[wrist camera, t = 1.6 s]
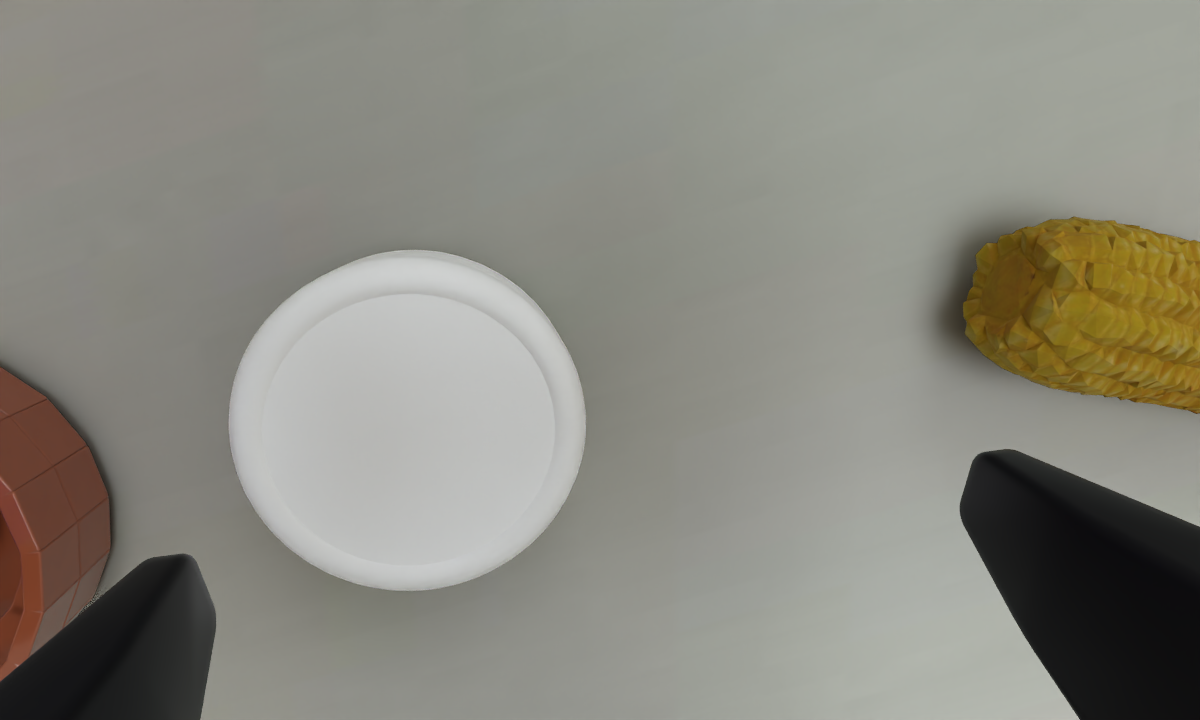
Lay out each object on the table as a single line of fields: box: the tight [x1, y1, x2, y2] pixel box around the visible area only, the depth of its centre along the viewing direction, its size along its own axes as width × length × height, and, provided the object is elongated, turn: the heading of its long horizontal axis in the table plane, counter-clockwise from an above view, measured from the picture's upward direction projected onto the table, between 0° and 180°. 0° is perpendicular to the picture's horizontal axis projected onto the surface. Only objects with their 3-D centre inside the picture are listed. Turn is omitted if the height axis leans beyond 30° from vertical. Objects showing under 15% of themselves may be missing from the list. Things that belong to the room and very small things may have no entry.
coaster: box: [228, 250, 586, 591], centre depth 22 cm, size 10×10×4 cm
